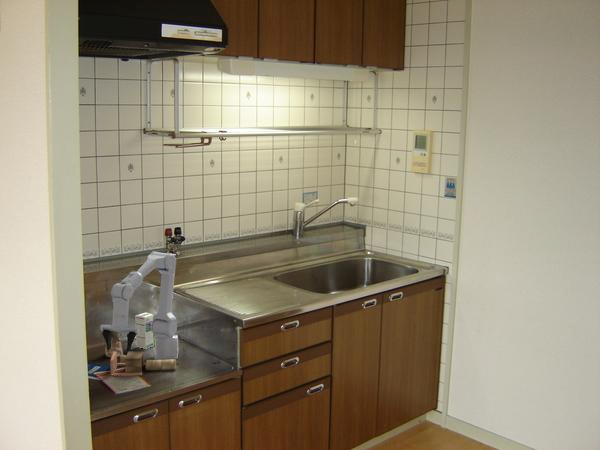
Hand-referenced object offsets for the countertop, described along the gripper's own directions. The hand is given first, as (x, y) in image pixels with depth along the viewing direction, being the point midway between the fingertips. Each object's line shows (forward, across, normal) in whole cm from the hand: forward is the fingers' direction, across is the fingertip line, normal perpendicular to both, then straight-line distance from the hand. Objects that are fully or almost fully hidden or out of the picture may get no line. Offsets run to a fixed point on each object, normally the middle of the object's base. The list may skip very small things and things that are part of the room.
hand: (118, 350), depth 268 cm
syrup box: (+7, 0, +37) cm, 37 cm away
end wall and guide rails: (+10, +2, +9) cm, 13 cm away
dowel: (+9, +14, +11) cm, 20 cm away
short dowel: (+9, 0, +17) cm, 19 cm away
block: (+9, +4, +9) cm, 14 cm away
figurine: (+9, -10, +26) cm, 29 cm away
